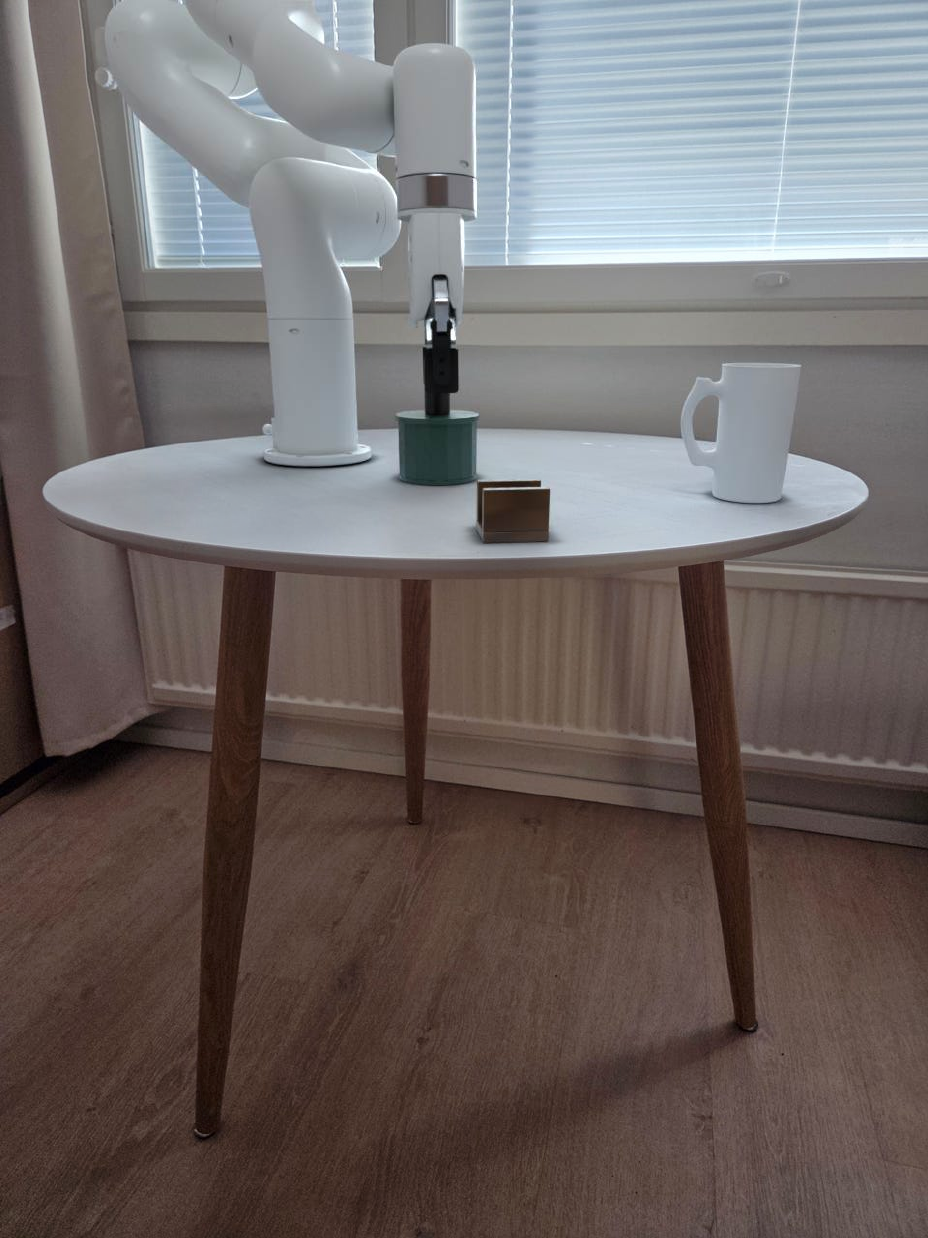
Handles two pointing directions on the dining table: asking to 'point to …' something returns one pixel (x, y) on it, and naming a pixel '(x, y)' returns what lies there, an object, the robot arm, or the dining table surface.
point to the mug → (746, 429)
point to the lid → (437, 412)
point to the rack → (512, 510)
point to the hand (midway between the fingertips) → (440, 389)
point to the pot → (437, 453)
